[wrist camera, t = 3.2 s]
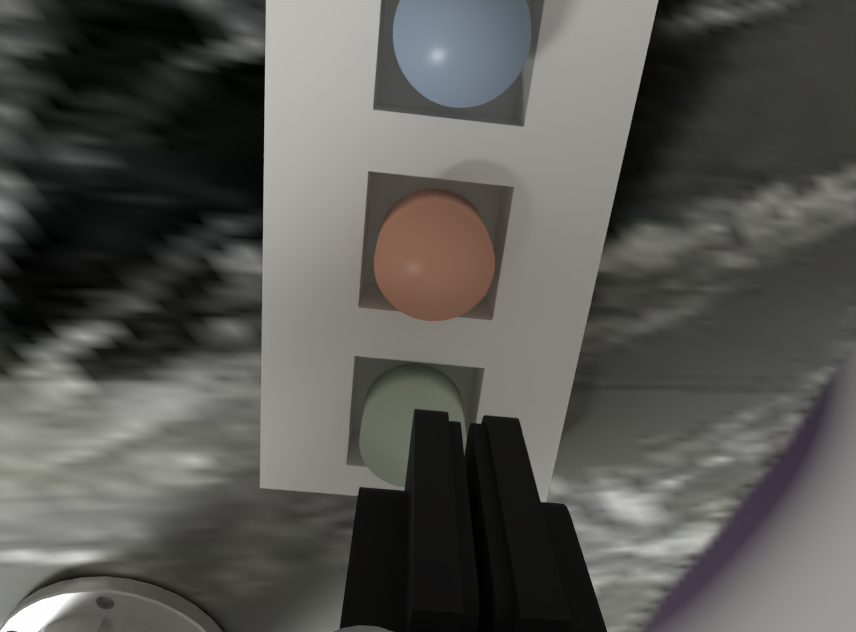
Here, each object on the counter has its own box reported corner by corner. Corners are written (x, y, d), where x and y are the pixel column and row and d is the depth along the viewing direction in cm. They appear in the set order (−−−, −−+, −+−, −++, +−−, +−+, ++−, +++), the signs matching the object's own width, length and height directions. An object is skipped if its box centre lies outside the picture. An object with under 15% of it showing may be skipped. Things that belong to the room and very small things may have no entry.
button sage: (456, 452, 27) (459, 492, 25) (361, 444, 27) (355, 483, 25) (468, 369, 26) (473, 401, 23) (368, 359, 26) (363, 392, 23)
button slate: (508, 107, 22) (519, 115, 20) (390, 93, 22) (387, 100, 19) (528, -25, 20) (542, -34, 18) (401, -42, 20) (399, -53, 18)
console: (531, 463, 31) (544, 511, 28) (276, 441, 30) (259, 488, 27) (641, -69, 22) (677, -87, 19) (289, -115, 22) (267, -142, 19)
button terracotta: (479, 298, 25) (485, 326, 22) (374, 288, 24) (369, 315, 22) (495, 194, 23) (503, 212, 21) (383, 182, 23) (378, 198, 21)
